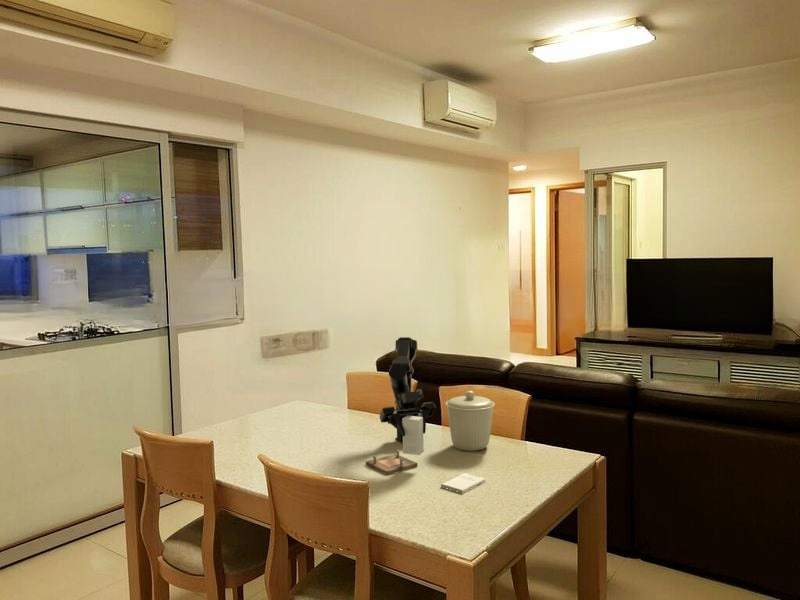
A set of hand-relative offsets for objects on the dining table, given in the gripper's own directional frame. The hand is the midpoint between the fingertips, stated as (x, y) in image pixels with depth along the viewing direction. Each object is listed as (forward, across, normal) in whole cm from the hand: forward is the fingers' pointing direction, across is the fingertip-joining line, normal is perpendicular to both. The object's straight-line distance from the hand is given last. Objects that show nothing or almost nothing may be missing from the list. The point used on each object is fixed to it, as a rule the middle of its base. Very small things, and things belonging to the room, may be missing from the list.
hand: (414, 434), depth 202 cm
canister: (-1, +28, +19) cm, 34 cm away
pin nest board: (+4, -6, +14) cm, 15 cm away
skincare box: (+4, 0, +6) cm, 7 cm away
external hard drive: (+21, +9, -4) cm, 24 cm away
